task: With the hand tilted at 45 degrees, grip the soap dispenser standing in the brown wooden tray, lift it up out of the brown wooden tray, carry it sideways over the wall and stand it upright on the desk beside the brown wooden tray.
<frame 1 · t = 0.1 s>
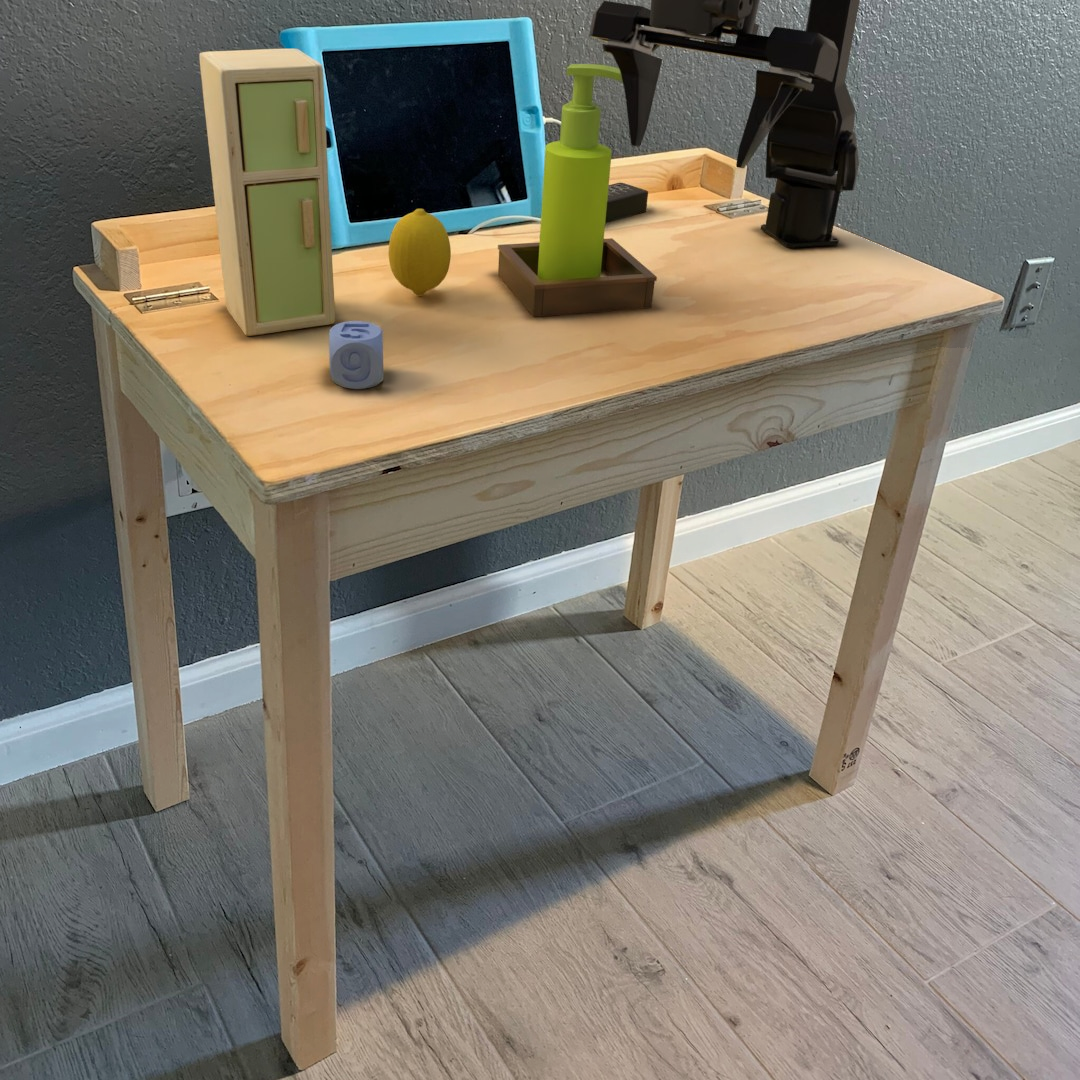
hand: (686, 156, 91), 15 cm above the table, tool pointing down, fingers open, 9 cm apart
soap dispenser: (573, 293, 107), resting in brown wooden tray
toy refrigerator: (280, 321, 98), on the table
multiport hub: (601, 216, 127), on the table
lemon: (419, 297, 104), on the table
decorative dice: (357, 380, 89), on the table
brown wooden tray: (573, 291, 107), on the table
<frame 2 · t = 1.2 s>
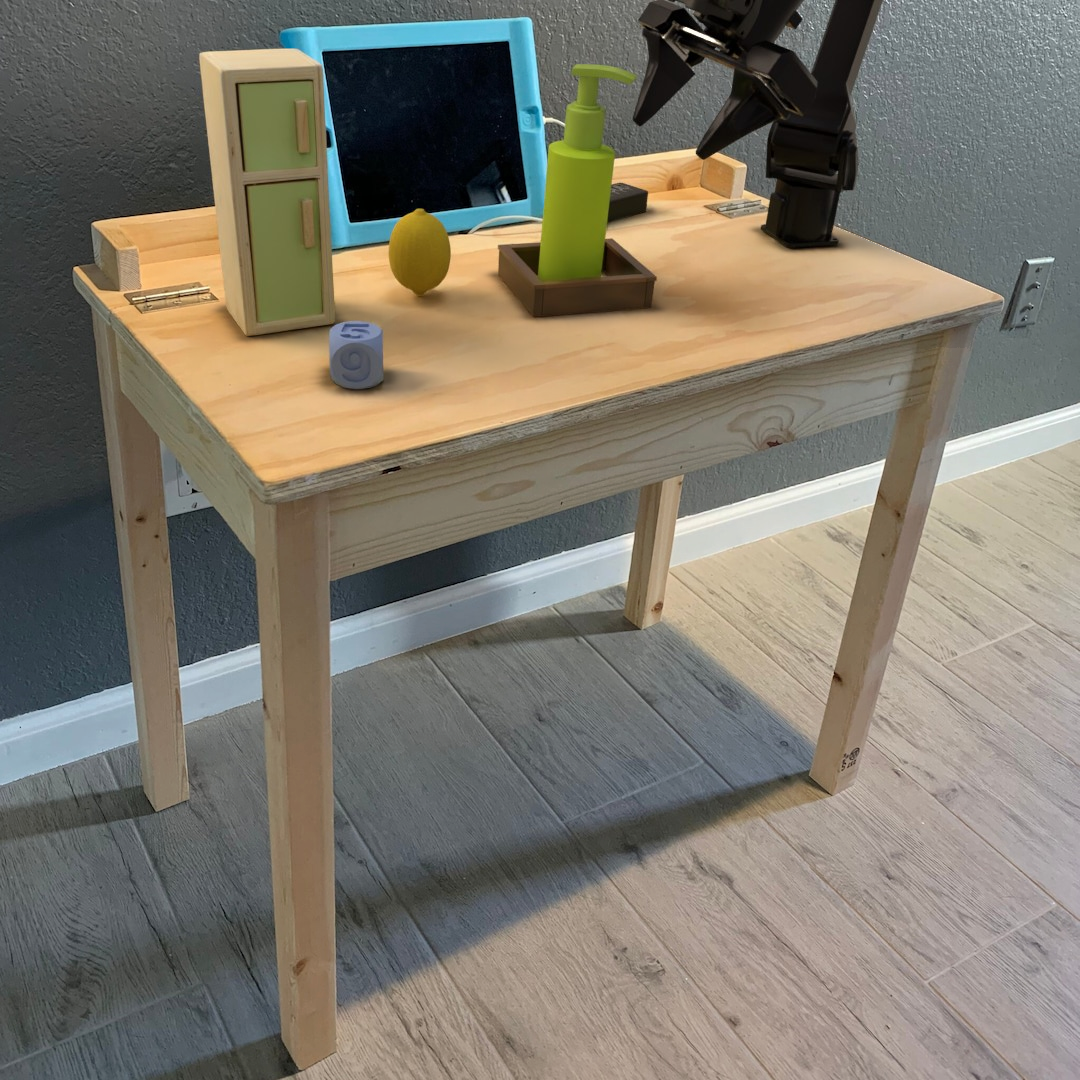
hand: (666, 139, 100), 14 cm above the table, tool tilted 35°, fingers open, 9 cm apart
nothing on the table moved.
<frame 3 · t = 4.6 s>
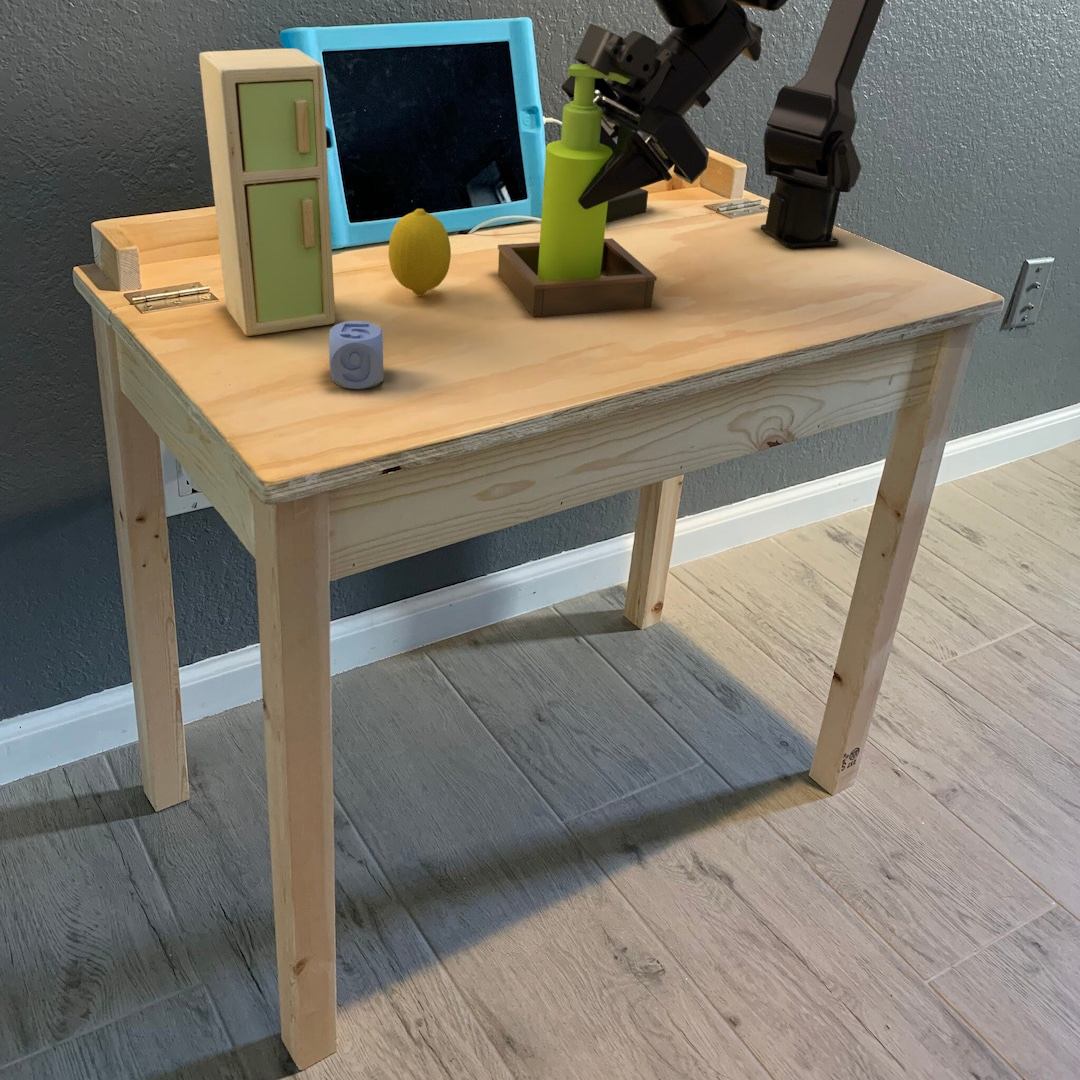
hand: (566, 195, 102), 9 cm above the table, tool tilted 45°, fingers closed on soap dispenser, 6 cm apart
soap dispenser: (573, 292, 107), resting in brown wooden tray, touching gripper
everything else where it was.
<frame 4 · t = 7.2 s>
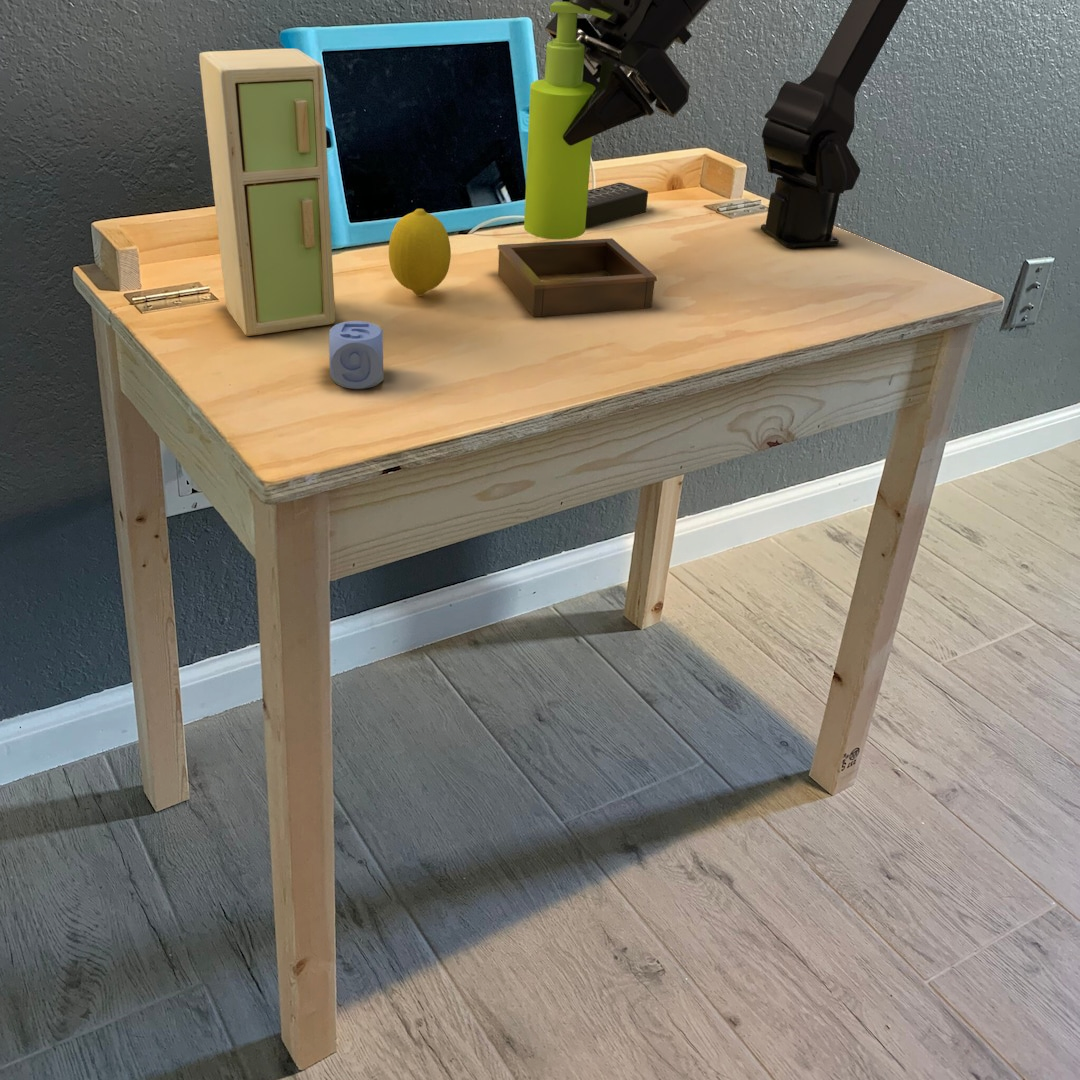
hand: (551, 133, 104), 13 cm above the table, tool tilted 45°, fingers closed on soap dispenser, 6 cm apart
soap dispenser: (559, 231, 109), point 4 cm above the table, touching gripper
everything else where it was.
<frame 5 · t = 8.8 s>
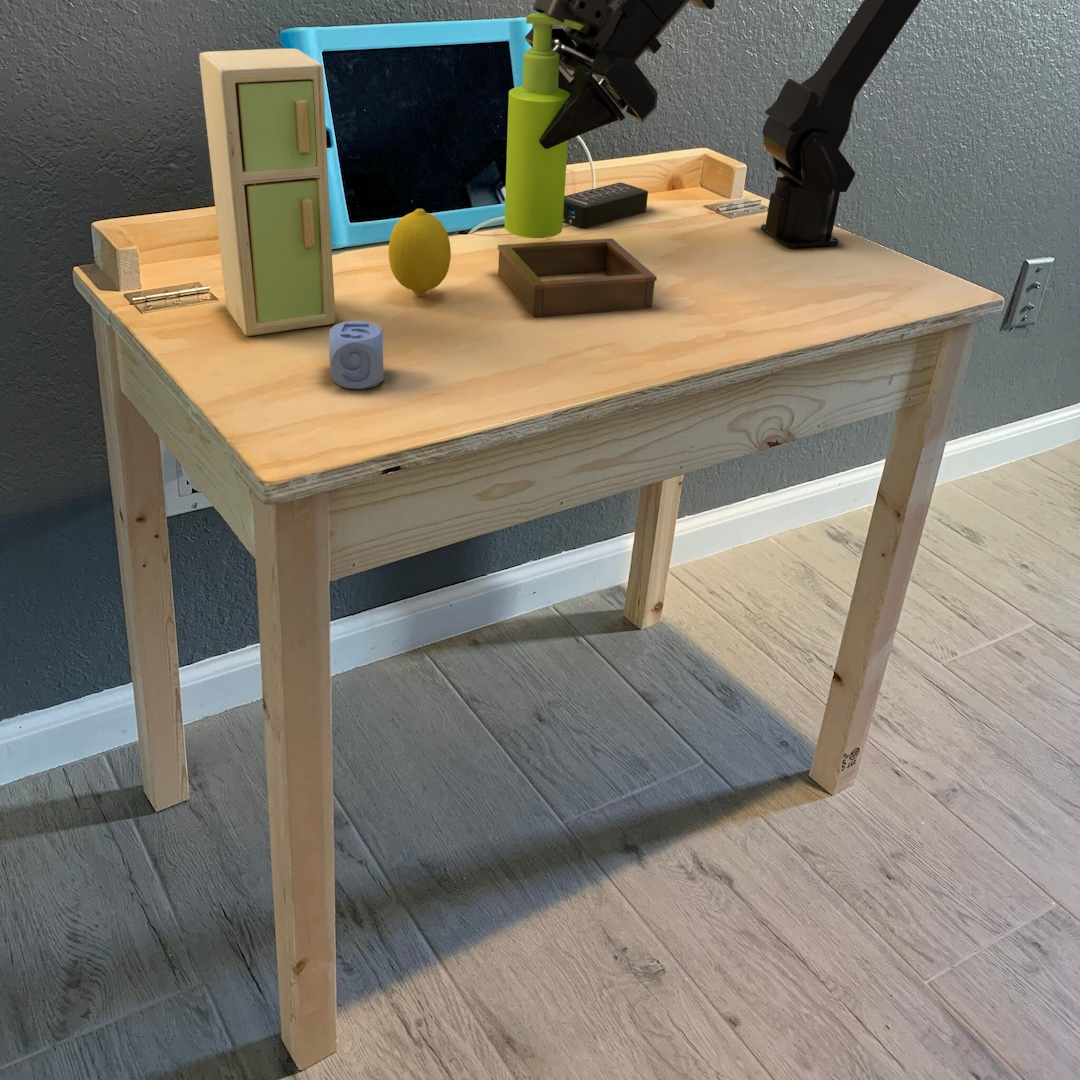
hand: (529, 137, 109), 11 cm above the table, tool tilted 45°, fingers closed on soap dispenser, 6 cm apart
soap dispenser: (538, 230, 115), point 2 cm above the table, touching gripper
everything else where it was.
when the fingers open (9 cm above the table, at t = 9.9 s): soap dispenser stays where it is, on the table.
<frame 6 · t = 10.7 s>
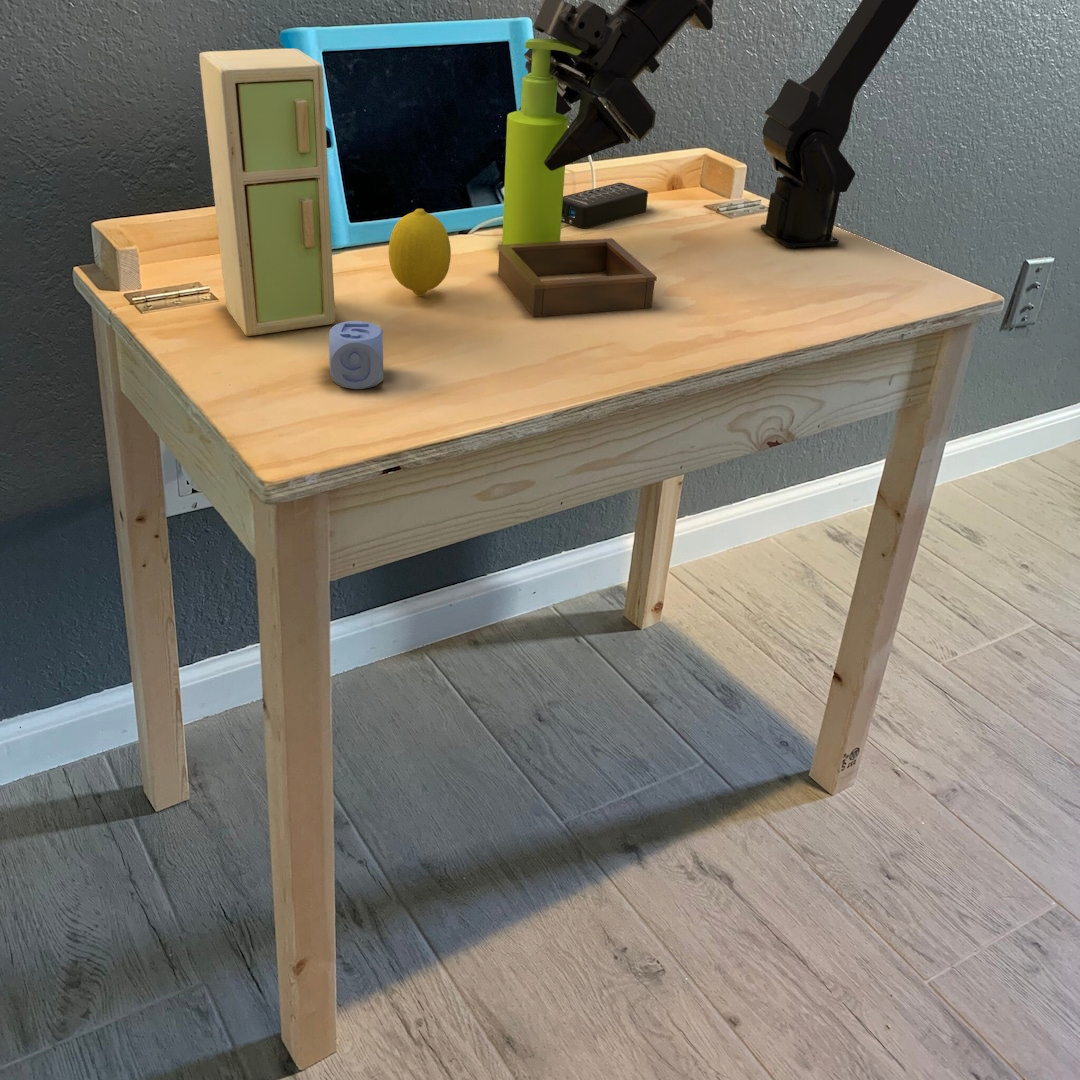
hand: (527, 154, 110), 10 cm above the table, tool tilted 45°, fingers open, 9 cm apart
soap dispenser: (535, 252, 116), on the table
everything else where it was.
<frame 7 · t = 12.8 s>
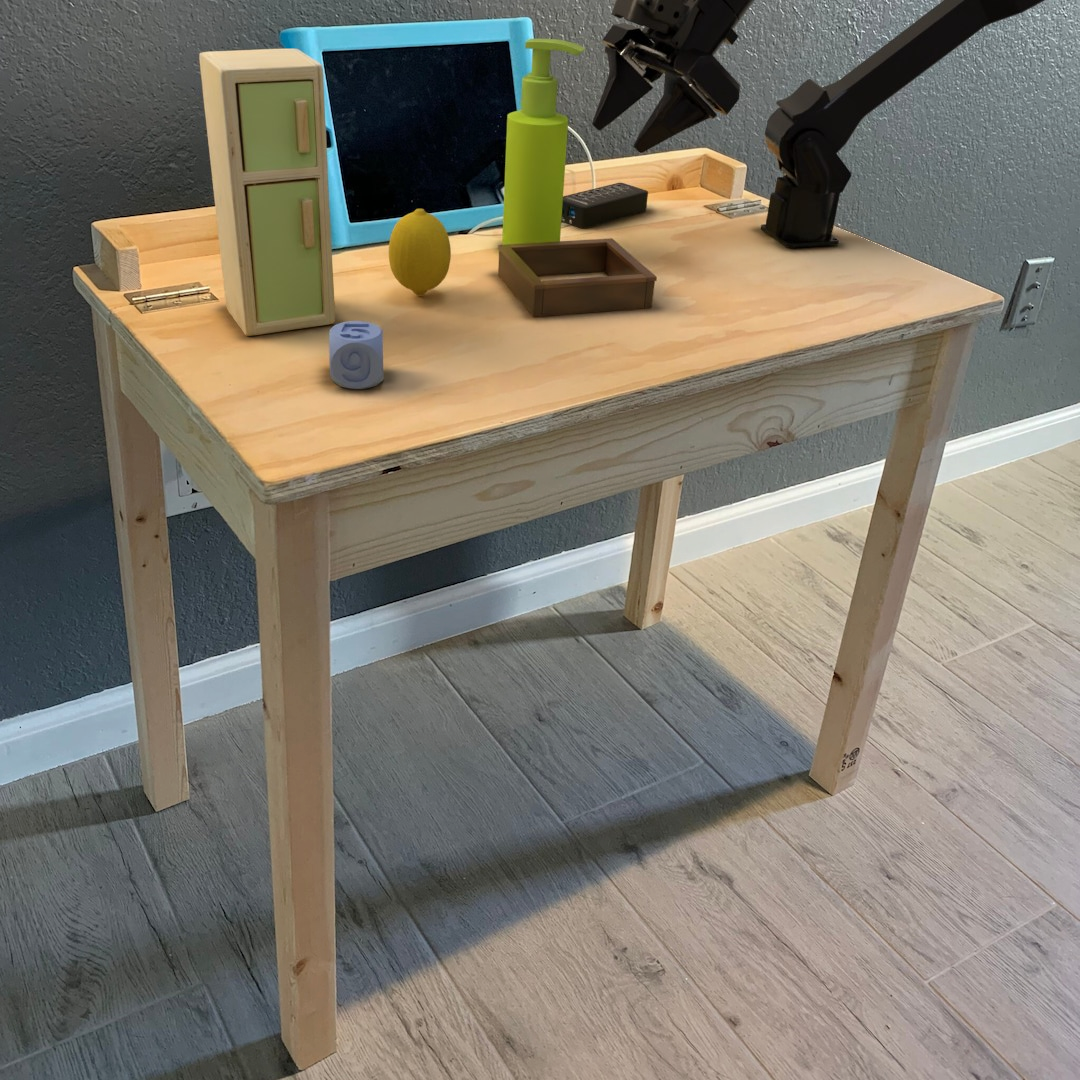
hand: (615, 138, 113), 11 cm above the table, tool tilted 40°, fingers open, 9 cm apart
nothing on the table moved.
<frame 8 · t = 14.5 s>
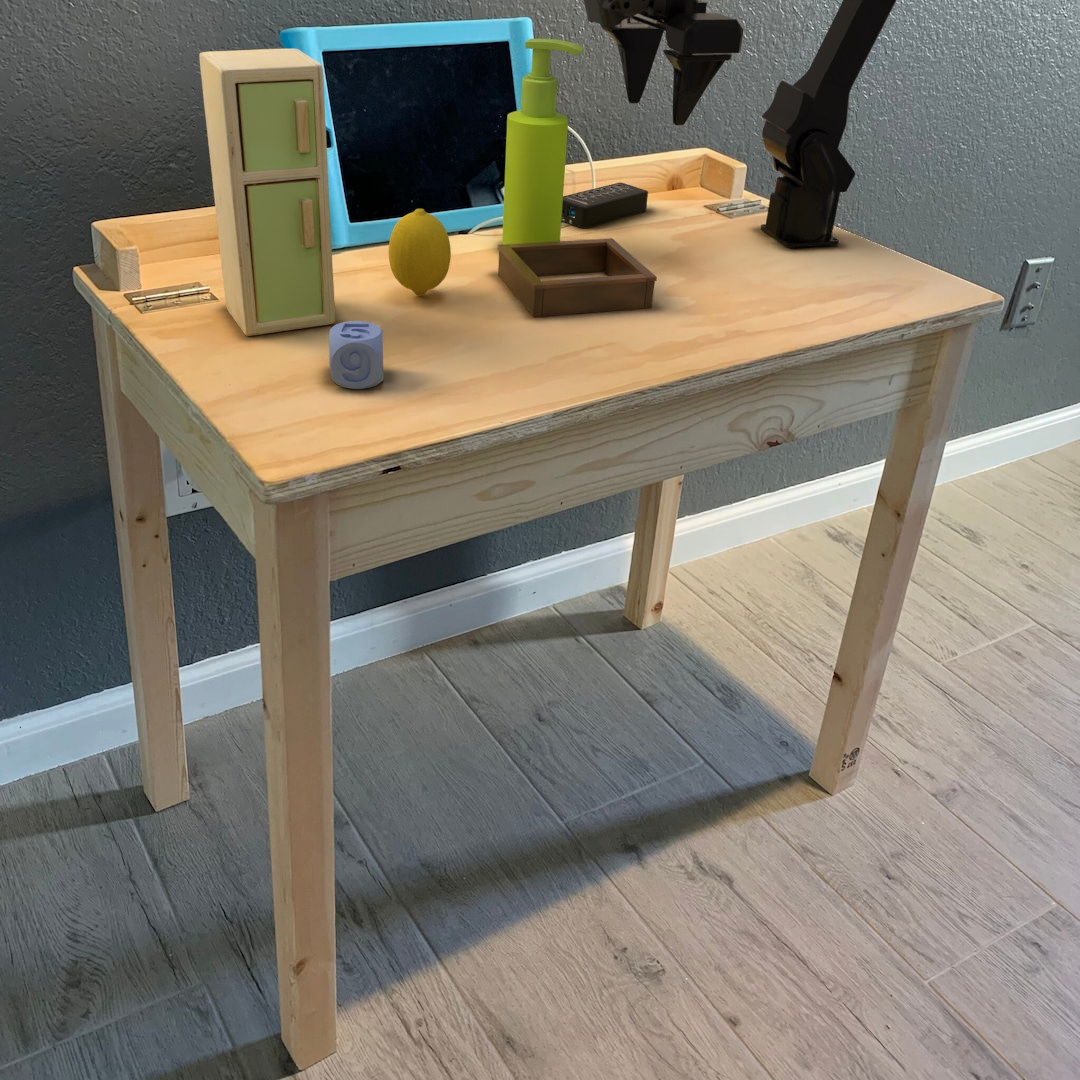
hand: (655, 113, 114), 13 cm above the table, tool pointing down, fingers open, 9 cm apart
nothing on the table moved.
at the end: soap dispenser inside the target area (0.4 cm from its centre), on the table; soap dispenser tilted 0°; the gripper is holding nothing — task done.
